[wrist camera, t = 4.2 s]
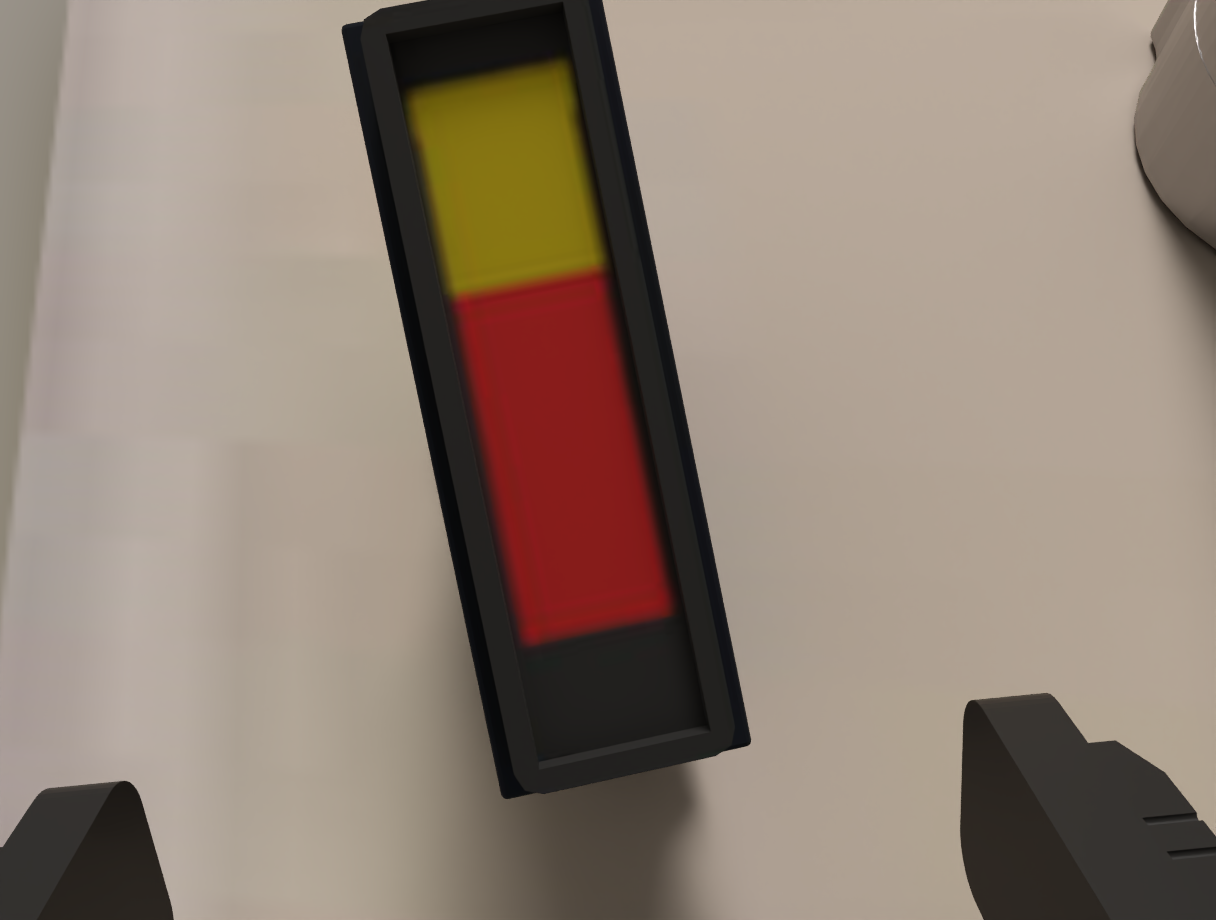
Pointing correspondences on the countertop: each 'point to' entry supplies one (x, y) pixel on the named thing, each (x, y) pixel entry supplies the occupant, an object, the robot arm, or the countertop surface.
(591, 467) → the magazine
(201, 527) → the countertop surface
